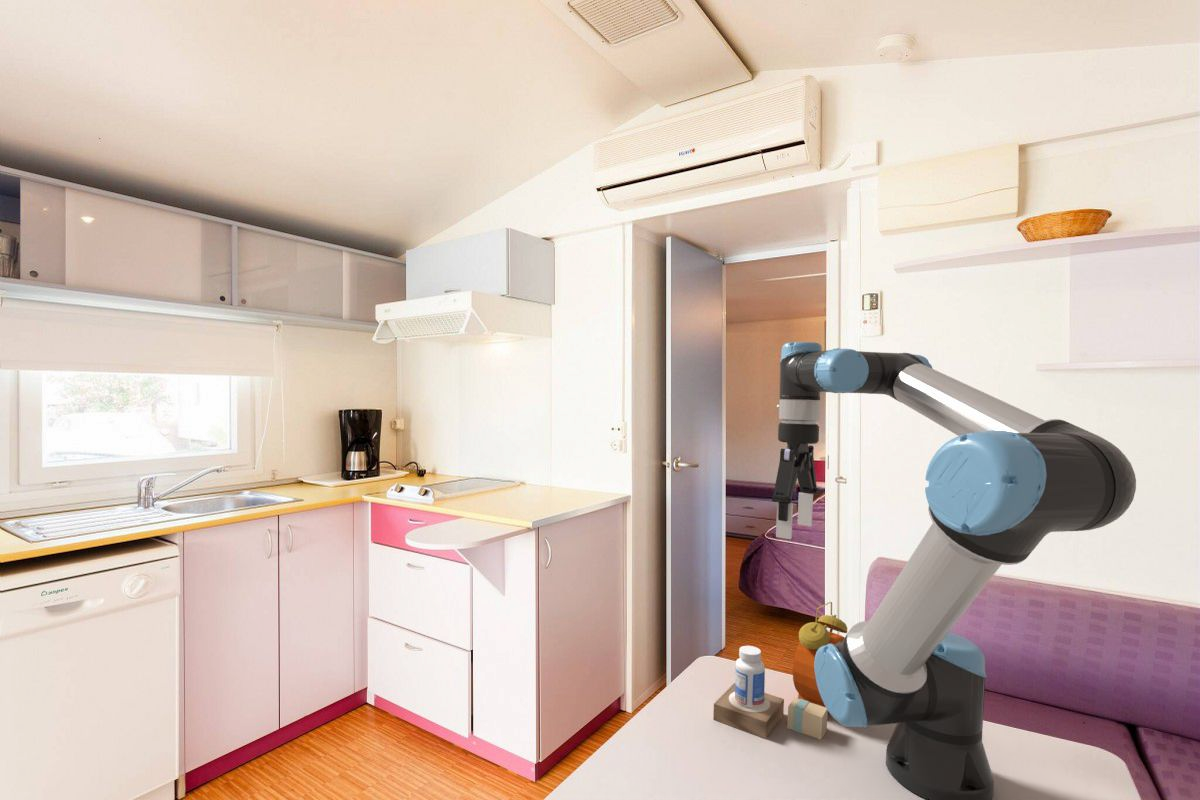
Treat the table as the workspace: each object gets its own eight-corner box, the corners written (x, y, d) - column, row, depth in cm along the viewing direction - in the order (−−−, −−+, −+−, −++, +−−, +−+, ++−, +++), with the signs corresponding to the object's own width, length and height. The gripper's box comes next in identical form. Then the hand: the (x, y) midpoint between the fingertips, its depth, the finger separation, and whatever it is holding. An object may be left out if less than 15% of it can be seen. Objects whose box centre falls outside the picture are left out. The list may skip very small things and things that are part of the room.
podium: (783, 714, 113) (784, 698, 113) (765, 738, 105) (766, 721, 105) (733, 697, 119) (734, 682, 119) (713, 719, 111) (713, 703, 111)
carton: (826, 729, 109) (827, 707, 109) (821, 739, 105) (821, 717, 105) (794, 718, 112) (794, 696, 112) (787, 728, 109) (788, 706, 109)
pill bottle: (762, 695, 114) (764, 645, 114) (765, 710, 108) (767, 657, 108) (733, 692, 115) (735, 642, 115) (734, 706, 110) (736, 654, 109)
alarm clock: (820, 724, 110) (824, 618, 110) (790, 710, 114) (794, 608, 114) (851, 700, 119) (855, 602, 119) (822, 688, 124) (825, 593, 123)
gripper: (798, 419, 127) (794, 518, 127) (757, 423, 107) (753, 540, 107) (834, 421, 123) (830, 523, 123) (799, 425, 102) (795, 547, 103)
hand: (794, 531), depth 115 cm, fingers open, 13 cm apart
